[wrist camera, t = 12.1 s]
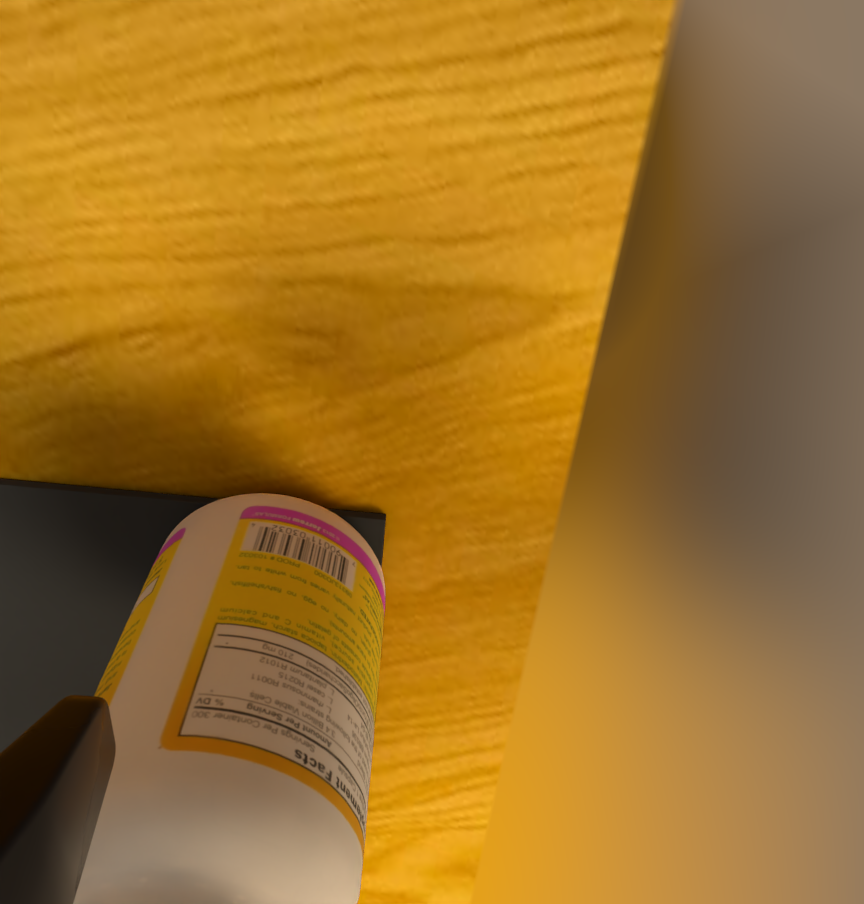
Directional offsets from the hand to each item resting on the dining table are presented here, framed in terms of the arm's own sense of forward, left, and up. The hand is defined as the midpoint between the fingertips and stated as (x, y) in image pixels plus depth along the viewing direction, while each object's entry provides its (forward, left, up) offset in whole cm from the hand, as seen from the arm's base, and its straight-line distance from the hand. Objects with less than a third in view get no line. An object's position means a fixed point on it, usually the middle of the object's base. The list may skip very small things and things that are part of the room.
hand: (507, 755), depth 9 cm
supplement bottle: (+5, +9, -13) cm, 16 cm away
